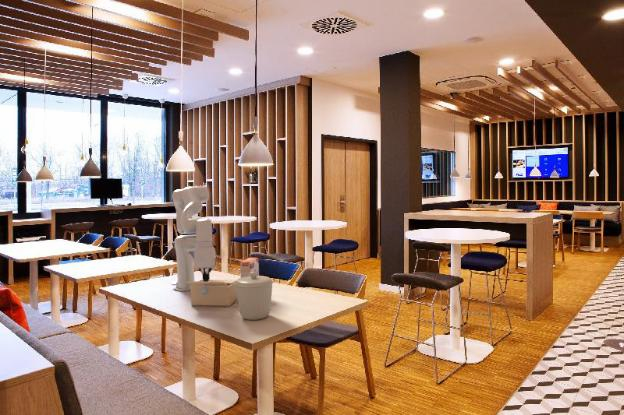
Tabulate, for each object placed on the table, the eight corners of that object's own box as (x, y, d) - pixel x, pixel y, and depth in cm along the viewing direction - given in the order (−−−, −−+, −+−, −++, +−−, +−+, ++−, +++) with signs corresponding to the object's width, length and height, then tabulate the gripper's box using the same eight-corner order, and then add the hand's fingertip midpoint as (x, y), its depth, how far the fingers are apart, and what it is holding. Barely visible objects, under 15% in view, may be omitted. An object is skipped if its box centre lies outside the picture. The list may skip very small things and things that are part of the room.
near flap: (191, 285, 228) (188, 296, 226) (186, 281, 223) (183, 293, 220) (227, 285, 225) (226, 297, 222) (223, 281, 220) (221, 293, 217)
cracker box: (251, 301, 234) (250, 261, 233) (240, 301, 235) (239, 261, 234) (260, 294, 248) (259, 257, 246) (249, 294, 249) (248, 257, 248)
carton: (191, 305, 229) (190, 285, 228) (201, 299, 242) (201, 279, 241) (229, 306, 226) (228, 285, 225) (237, 299, 238) (236, 280, 238)
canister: (274, 322, 200) (273, 274, 198) (233, 324, 198) (231, 276, 197) (274, 310, 218) (273, 267, 216) (237, 312, 216) (235, 268, 215)
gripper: (187, 245, 219) (188, 282, 220) (216, 245, 217) (217, 283, 218) (193, 243, 227) (195, 279, 228) (221, 243, 224) (223, 279, 225)
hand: (206, 281), depth 223 cm, fingers closed
